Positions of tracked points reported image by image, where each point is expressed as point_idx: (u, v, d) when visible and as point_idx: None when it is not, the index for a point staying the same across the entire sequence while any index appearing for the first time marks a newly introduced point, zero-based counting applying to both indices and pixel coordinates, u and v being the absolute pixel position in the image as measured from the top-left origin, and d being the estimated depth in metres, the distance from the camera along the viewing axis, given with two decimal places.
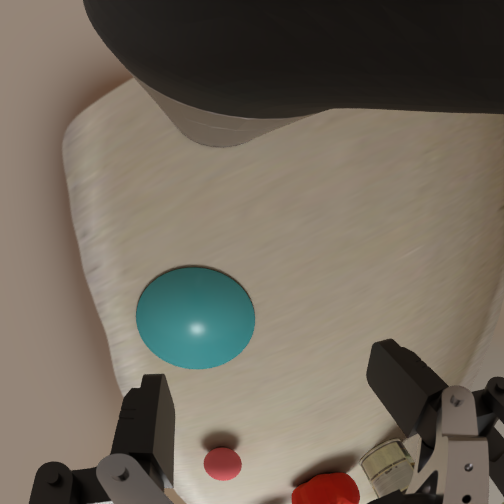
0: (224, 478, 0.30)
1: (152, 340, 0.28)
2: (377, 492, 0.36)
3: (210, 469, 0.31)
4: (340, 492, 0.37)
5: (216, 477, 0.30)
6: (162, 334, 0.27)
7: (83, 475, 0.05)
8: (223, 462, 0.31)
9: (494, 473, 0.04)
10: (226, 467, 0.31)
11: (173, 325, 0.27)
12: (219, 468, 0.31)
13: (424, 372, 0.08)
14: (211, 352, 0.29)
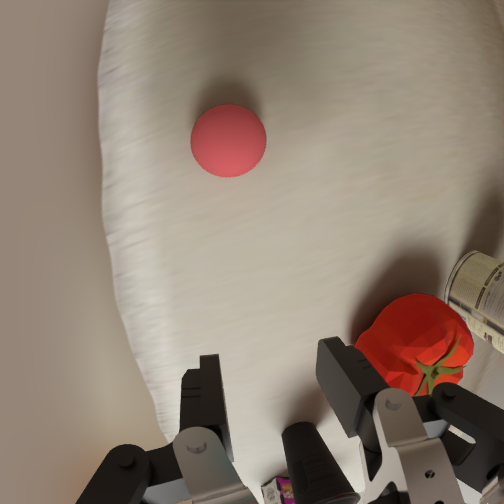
0: (231, 135, 0.17)
1: None
2: (494, 321, 0.22)
3: (204, 118, 0.18)
4: (445, 311, 0.23)
5: (214, 134, 0.17)
6: None
7: (154, 455, 0.06)
8: (232, 105, 0.18)
9: (462, 474, 0.05)
10: (237, 109, 0.18)
11: None
12: (223, 110, 0.17)
13: (363, 372, 0.08)
14: None
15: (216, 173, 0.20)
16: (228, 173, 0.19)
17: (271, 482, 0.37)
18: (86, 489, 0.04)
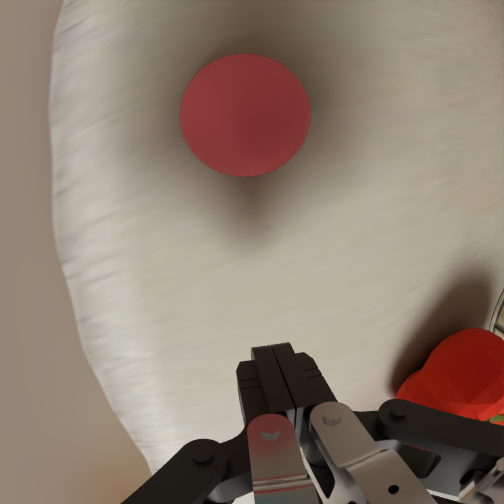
0: (255, 98, 0.09)
1: None
2: None
3: (205, 71, 0.09)
4: None
5: (222, 97, 0.09)
6: None
7: (225, 447, 0.06)
8: (253, 54, 0.10)
9: (431, 484, 0.05)
10: (264, 59, 0.09)
11: None
12: (238, 58, 0.09)
13: (306, 382, 0.08)
14: None
15: (224, 169, 0.11)
16: (246, 170, 0.11)
17: None
18: (151, 479, 0.05)
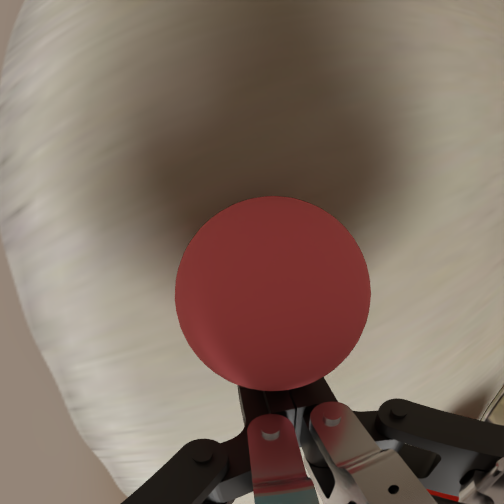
0: (270, 198, 0.07)
1: None
2: None
3: None
4: None
5: (227, 209, 0.07)
6: None
7: (225, 448, 0.06)
8: None
9: (431, 485, 0.05)
10: None
11: None
12: None
13: None
14: None
15: (247, 317, 0.06)
16: (289, 297, 0.05)
17: None
18: (151, 479, 0.05)
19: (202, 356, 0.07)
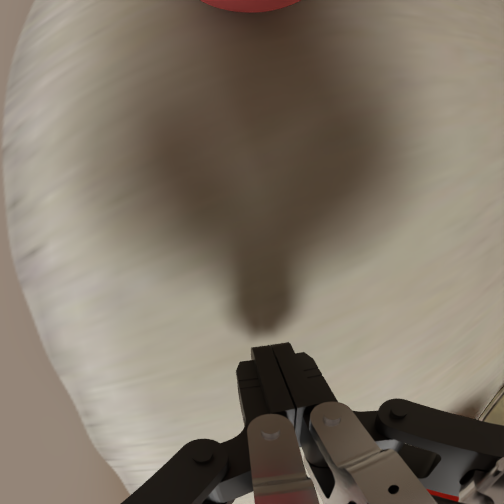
0: None
1: None
2: None
3: None
4: None
5: None
6: None
7: (225, 447, 0.06)
8: None
9: (431, 485, 0.05)
10: None
11: None
12: None
13: (306, 382, 0.08)
14: None
15: None
16: None
17: None
18: (151, 479, 0.05)
19: None
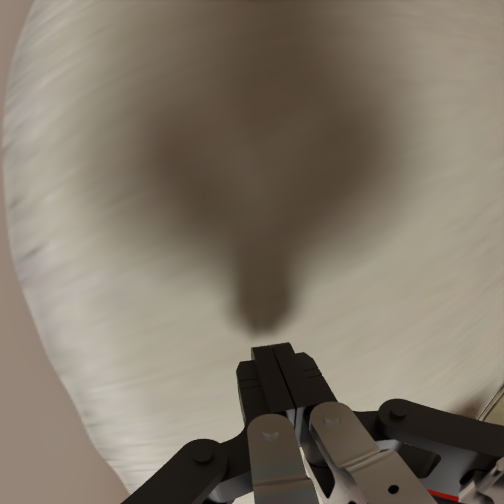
0: None
1: None
2: None
3: None
4: None
5: None
6: None
7: (225, 447, 0.06)
8: None
9: (431, 485, 0.05)
10: None
11: None
12: None
13: (306, 382, 0.08)
14: None
15: None
16: None
17: None
18: (151, 479, 0.05)
19: None
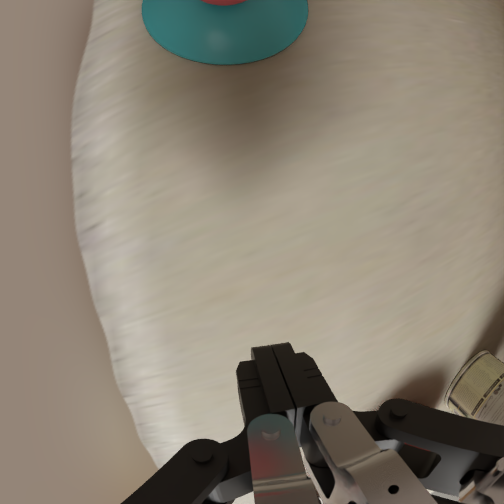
0: None
1: (158, 18, 0.14)
2: None
3: None
4: None
5: None
6: (175, 9, 0.14)
7: (225, 447, 0.06)
8: None
9: (431, 485, 0.05)
10: None
11: None
12: None
13: (306, 382, 0.08)
14: (245, 36, 0.15)
15: None
16: None
17: None
18: (151, 479, 0.05)
19: None
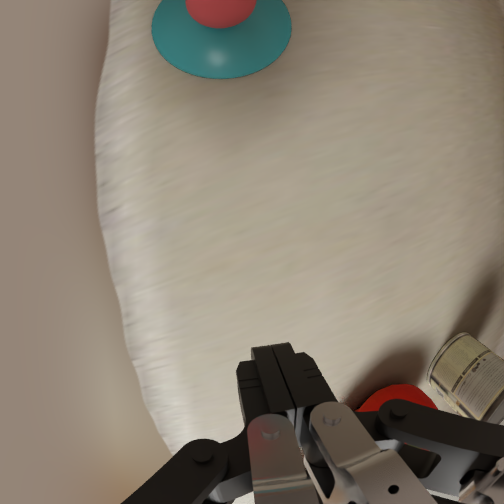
0: None
1: (166, 37, 0.18)
2: (465, 406, 0.25)
3: None
4: None
5: None
6: (180, 30, 0.18)
7: (225, 447, 0.06)
8: None
9: (431, 484, 0.05)
10: None
11: None
12: None
13: (306, 382, 0.08)
14: (238, 54, 0.19)
15: None
16: None
17: None
18: (151, 479, 0.05)
19: None
